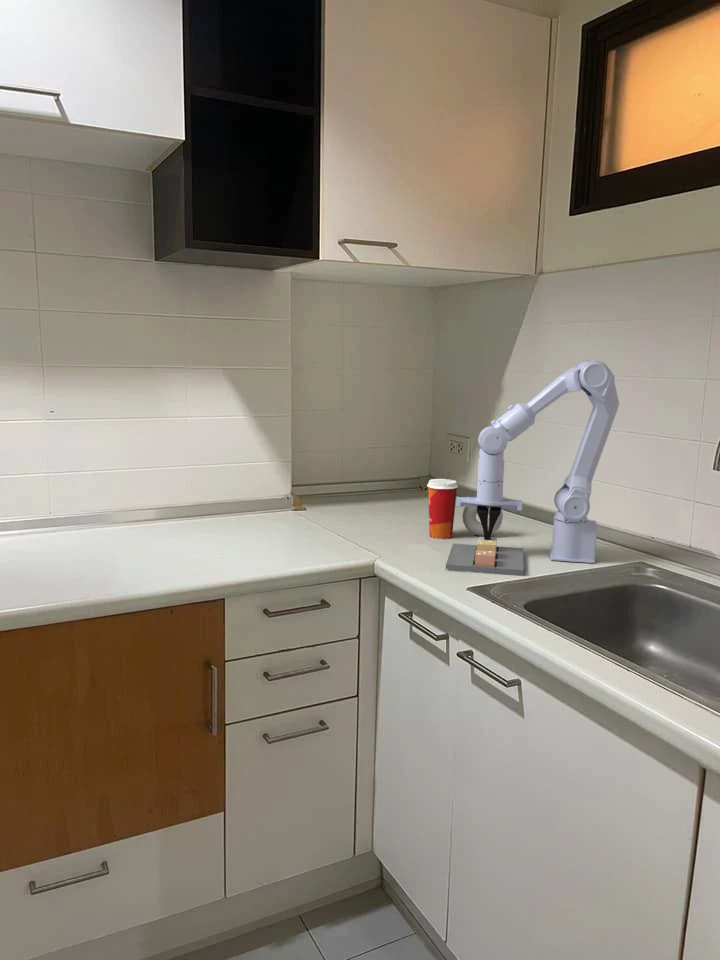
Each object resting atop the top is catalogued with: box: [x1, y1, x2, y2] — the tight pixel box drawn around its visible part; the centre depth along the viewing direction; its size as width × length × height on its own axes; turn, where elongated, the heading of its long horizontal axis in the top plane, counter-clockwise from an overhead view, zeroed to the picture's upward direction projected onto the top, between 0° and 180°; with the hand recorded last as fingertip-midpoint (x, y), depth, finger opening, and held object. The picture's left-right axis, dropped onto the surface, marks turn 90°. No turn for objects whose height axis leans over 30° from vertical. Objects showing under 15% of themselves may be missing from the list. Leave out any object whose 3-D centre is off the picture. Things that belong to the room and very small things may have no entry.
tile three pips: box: [474, 550, 496, 567], centre depth 158 cm, size 4×4×3 cm
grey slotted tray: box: [445, 543, 524, 577], centre depth 164 cm, size 16×18×1 cm
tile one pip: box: [478, 536, 498, 546], centre depth 170 cm, size 4×4×3 cm
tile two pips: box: [476, 539, 497, 556], centre depth 164 cm, size 4×4×3 cm
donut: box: [461, 507, 504, 537], centre depth 186 cm, size 10×3×10 cm, turn 84°
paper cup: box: [426, 478, 459, 540], centre depth 185 cm, size 8×8×14 cm
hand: (487, 539), depth 170 cm, fingers closed, pressing on tile one pip
